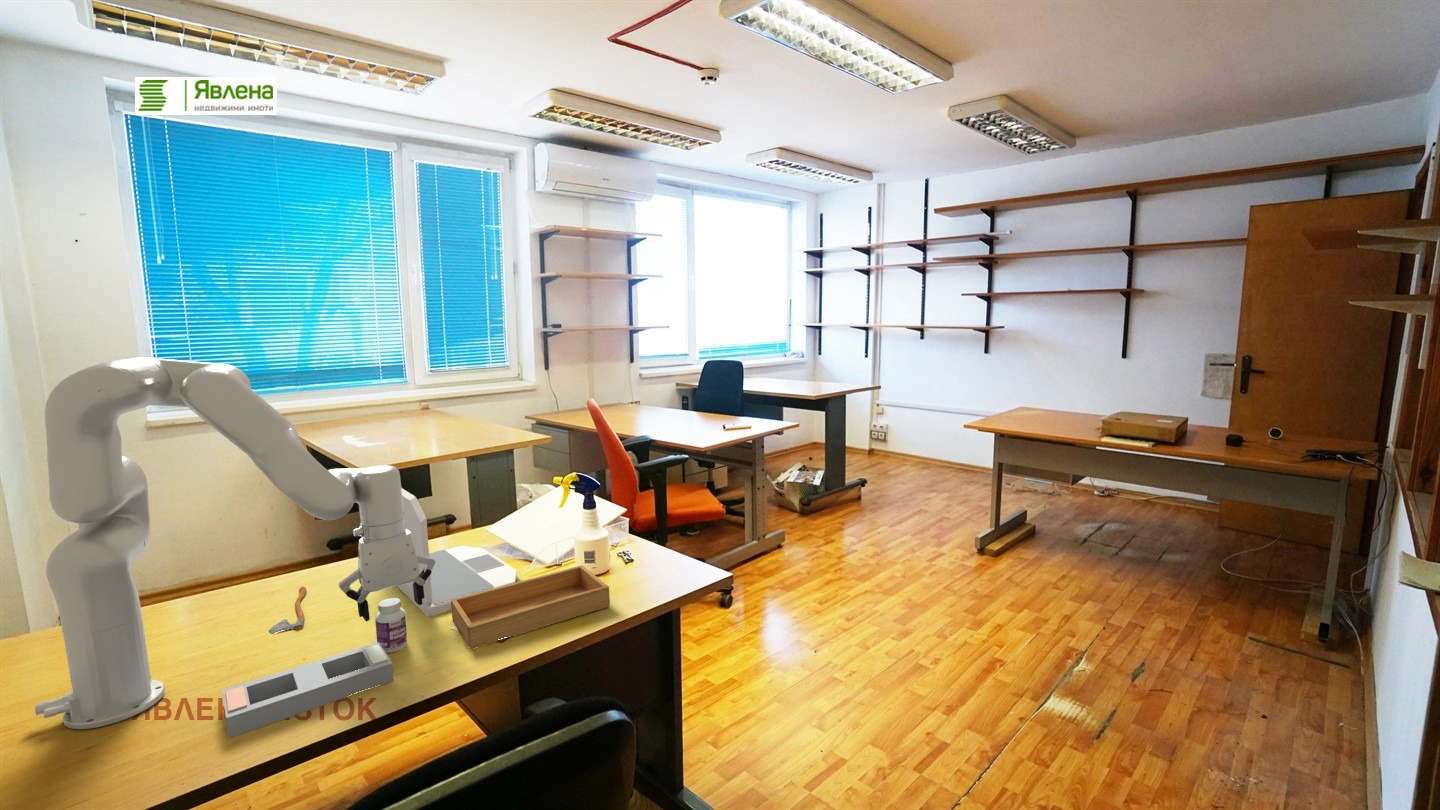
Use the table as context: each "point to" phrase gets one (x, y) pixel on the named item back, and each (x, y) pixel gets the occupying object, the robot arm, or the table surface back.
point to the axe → (300, 622)
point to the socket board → (304, 688)
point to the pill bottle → (391, 625)
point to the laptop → (450, 566)
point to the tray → (528, 605)
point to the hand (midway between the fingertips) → (392, 610)
